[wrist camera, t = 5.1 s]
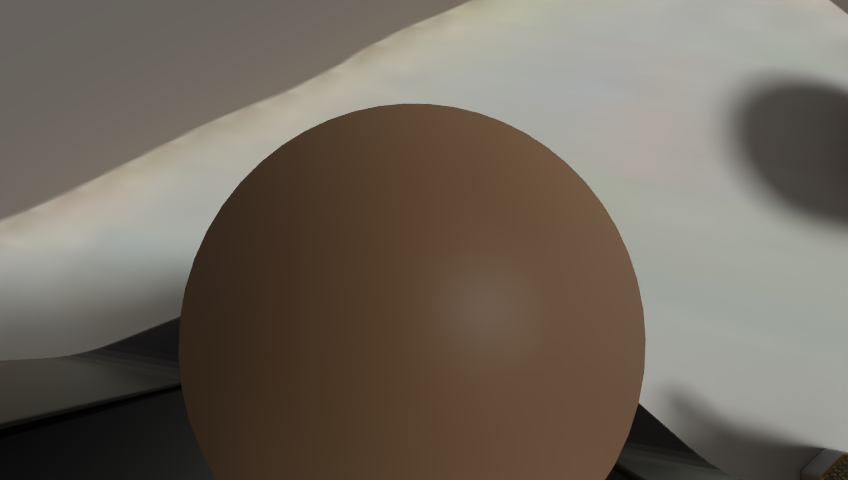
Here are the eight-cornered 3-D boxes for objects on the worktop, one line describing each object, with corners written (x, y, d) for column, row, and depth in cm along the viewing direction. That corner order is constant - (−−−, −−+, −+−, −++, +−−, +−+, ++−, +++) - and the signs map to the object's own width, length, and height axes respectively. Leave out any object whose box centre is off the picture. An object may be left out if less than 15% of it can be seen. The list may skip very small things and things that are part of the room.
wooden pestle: (443, 362, 15) (651, 633, 2) (363, 347, 15) (89, 534, 2) (455, 281, 16) (641, 141, 3) (380, 268, 16) (265, 73, 3)
